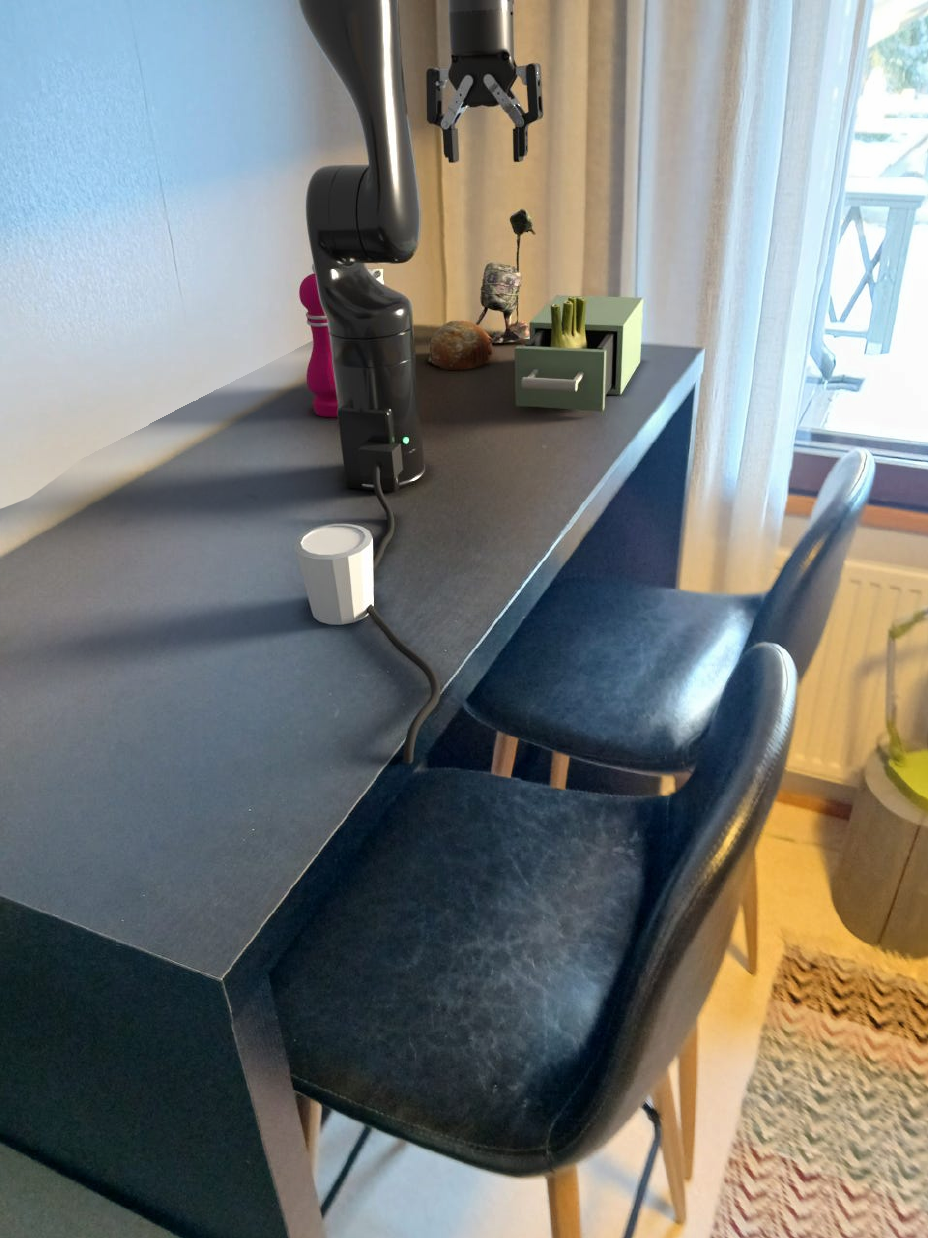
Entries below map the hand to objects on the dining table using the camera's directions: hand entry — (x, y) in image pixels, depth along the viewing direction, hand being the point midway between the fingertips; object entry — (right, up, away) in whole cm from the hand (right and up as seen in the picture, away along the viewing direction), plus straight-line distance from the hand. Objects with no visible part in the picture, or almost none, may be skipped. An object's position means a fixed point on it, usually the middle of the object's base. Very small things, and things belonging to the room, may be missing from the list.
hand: (486, 161), depth 117 cm
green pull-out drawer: (+11, -27, +11) cm, 31 cm away
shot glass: (-14, -57, -32) cm, 66 cm away
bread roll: (-3, -17, +31) cm, 35 cm away
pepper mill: (-21, -28, +14) cm, 38 cm away
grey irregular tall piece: (+5, -10, +40) cm, 42 cm away
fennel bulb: (+12, -26, +11) cm, 30 cm away
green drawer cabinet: (+15, -21, +21) cm, 34 cm away
